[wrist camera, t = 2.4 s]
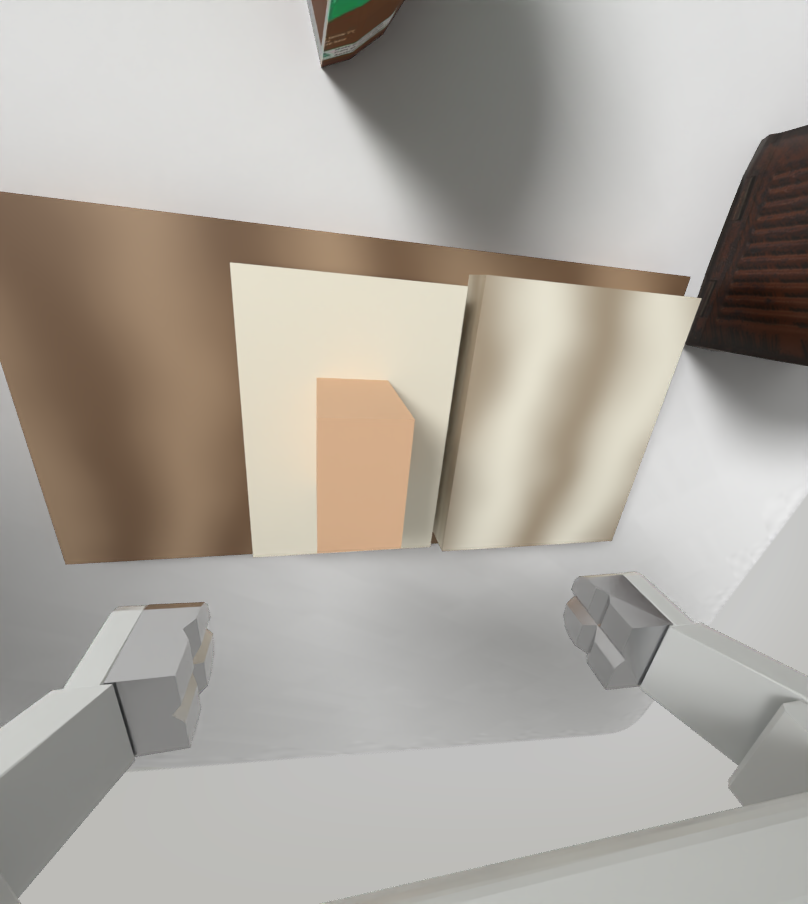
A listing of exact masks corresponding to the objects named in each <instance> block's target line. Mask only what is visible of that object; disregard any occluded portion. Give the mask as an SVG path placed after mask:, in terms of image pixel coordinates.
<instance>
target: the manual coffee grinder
mask: <svg viewBox="0 0 808 904" xmlns="http://www.w3.org/2000/svg"><path fill="white" fill-rule="evenodd" d="M698 298H702V299H701V301H700V304H699V307H698V309H697V312H696V315H695V318H694V320H693V323H692V326H691V328H690V331H689V334H688V336H687V339H686V342H685V344H686V345H690V346H694V347H698V348H702V349H707V350H711V351H722V352H732V353H737V354H743V355H748V356H753V357H759V358H764V359H770V360H775V361H781V362H787V363H792V364H798V365H804V366H808V125H806V126H803V127H799V128H796V129H792V130H789V131H785V132H782V133H777V134H770V135H769V136H767V137H766V138H764V139H763V140H762V141H761V143H760V145H759V147H758V148H757V150H756V152H755V154H754V156H753V158H752V160H751V162H750V164H749V166H748V168H747V170H746V171H745V173H744V175H743V178H742V180H741V183H740V185H739V188H738V190H737V193H736V195H735V198H734V200H733V203H732V206H731V208H730V211H729V213H728V216H727V218H726V221H725V224H724V226H723V229H722V232H721V234H720V237H719V239H718V242H717V245H716V247H715V250H714V252H713V255H712V258H711V260H710V263H709V266H708V268H707V271H706V274H705V277H704V280H703V283H702V286H701V289H700V292H699V295H698Z"/></svg>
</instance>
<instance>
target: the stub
mask: <svg viewBox="0 0 808 904" xmlns="http://www.w3.org/2000/svg"><path fill="white" fill-rule="evenodd" d="M230 272H231V284H232V297H233V309H234V322H235V335H236V347H237V360H238V372H239V385H240V398H241V410H242V423H243V436H244V448H245V461H246V473H247V486H248V499H249V511H250V524H251V536H252V549H253V557H270V556H287V555H304V554H321V553H338V552H355V551H372V550H389V549H406V548H423V547H430V545H431V538H432V532H433V525H434V518H435V511H436V504H437V497H438V490H439V483H440V476H441V470H442V463H443V456H444V449H445V442H446V435H447V428H448V421H449V414H450V408H451V401H452V394H453V387H454V380H455V373H456V366H457V359H458V352H459V345H460V339H461V332H462V325H463V318H464V311H465V304H466V297H467V290H468V286H460V285H450V284H440V283H430V282H420V281H410V280H400V279H390V278H381V277H371V276H361V275H351V274H341V273H331V272H321V271H311V270H301V269H291V268H281V267H271V266H261V265H252V264H242V263H232V262H230Z"/></svg>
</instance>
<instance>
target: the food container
mask: <svg viewBox="0 0 808 904" xmlns="http://www.w3.org/2000/svg"><path fill="white" fill-rule="evenodd" d="M403 2H404V0H307V4H308V9H309V13H310V18H311V22H312V27H313V32H314V36H315V41H316V45H317V50H318V55H319V59H320V64H321V67H325V66H328V65H332V64H335V63H339V62H342V61H346V60H349V59H351V58H352V57H353V56H355V55H356V54H357V53H359V52H360V51H361V50H363V49H364V48H365V47H367V46H368V45H369V44H371V43H372V42H373V41H375V40H376V39H377V38H379V37H380V36H381V35H383V33H384V32H385V30H386V28H387V27H388V25H389V24H390V22H391V21H392V19H393V18H394V16H395V14H396V13H397V11H398V10H399V8H400V7H401V5H402V4H403Z"/></svg>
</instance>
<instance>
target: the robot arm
mask: <svg viewBox="0 0 808 904" xmlns="http://www.w3.org/2000/svg"><path fill="white" fill-rule="evenodd" d="M571 590H572V592H573V594H574V597H573V598H572V599H571V600H570V601H569V602H568V603H567V604H566V607H565V611H564V623H565V628H566V631H567V633H568V635H569V637H570V639H571V640H572V642H573V643H574V645H575V646H577V647H578V648H580V649H581V650H583V651H584V652H586V653H587V664H588V665H589V667H590V668H591V669H592V671H593V672H594V674H595V675H596V677H597V678H598V680H599V681H600V682H601V684H602V685H603V687H604V688H605V690H608V689H618V688H627V687H637V686H640V689H641V690H642V691H643V692H645V693H646V694H647V695H649V696H650V697H651V698H652V699H654V700H655V701H656V702H658V703H659V704H660V705H661V706H663V707H664V708H665V709H667V710H668V711H669V712H670V713H672V714H673V715H674V716H676V717H677V718H678V719H679V720H681V721H682V722H683V723H684V724H686V725H687V726H688V727H690V728H691V729H692V730H694V731H695V732H696V733H697V734H699V735H700V736H701V737H702V738H704V739H705V740H706V741H708V742H709V743H710V744H711V745H713V746H714V747H715V748H717V749H718V750H719V751H720V752H722V753H723V754H724V755H726V756H727V757H728V758H729V759H731V760H732V761H733V762H734V763H736V764H737V765H738V767H737V769H736V770H735V771H734V773H733V774H732V775H731V777H730V778H729V780H728V783H729V784H728V786H729V789H730V790H731V792H732V793H733V794H734V796H735V797H736V798H737V799H738V801H739V802H740V803H741V804H742V806H743V807H738V808H734V809H730V810H725V811H721V812H717V813H712V814H708V815H704V816H699V817H695V818H690V819H686V820H682V821H678V822H673V823H669V824H664V825H660V826H656V827H652V828H647V829H643V830H639V831H634V832H630V833H626V834H621V835H617V836H612V837H608V838H603V839H599V840H595V841H590V842H586V843H582V844H578V845H573V846H569V847H564V848H560V849H556V850H551V851H547V852H543V853H538V854H534V855H530V856H525V857H521V858H516V859H512V860H508V861H504V862H499V863H495V864H490V865H486V866H482V867H477V868H473V869H469V870H464V871H460V872H456V873H451V874H447V875H443V876H438V877H434V878H429V879H425V880H421V881H416V882H413V883H408V884H403V885H399V886H395V887H391V888H386V889H382V890H377V891H374V892H369V893H364V894H360V895H356V896H351V897H347V898H343V899H338V900H334V901H330V902H325V903H321V904H808V676H807V675H805V674H803V673H801V672H799V671H797V670H795V669H793V668H791V667H789V666H787V665H785V664H783V663H781V662H779V661H777V660H775V659H773V658H771V657H769V656H767V655H765V654H763V653H761V652H759V651H757V650H755V649H753V648H751V647H749V646H747V645H745V644H743V643H741V642H738V641H737V640H735V639H733V638H731V637H729V636H727V635H725V634H722V633H721V632H718V631H716V630H714V629H712V628H710V627H708V626H706V625H704V624H702V623H694V622H693V621H692V620H691V619H690V618H689V617H688V616H687V615H686V614H685V613H684V612H683V611H681V610H680V609H679V608H678V607H677V606H676V605H675V604H674V603H673V602H672V601H671V600H669V599H668V598H667V597H666V596H665V595H664V594H663V593H662V592H661V591H660V590H659V589H658V588H656V587H655V586H654V585H653V584H652V583H651V582H650V581H649V580H648V579H647V578H646V577H645V576H643V575H642V574H639V573H637V572H625V573H616V574H602V575H590V576H579V577H578V578H577V579H576V580H575V581H574V583H573V586H572V589H571ZM209 619H210V612H209V607H208V604H207V603H205V602H196V603H174V604H152V605H146V606H120V607H118V608H117V609H115V610H114V611H113V612H112V613H111V614H110V615H109V617H108V618H107V620H106V621H105V623H104V625H103V626H102V628H101V629H100V631H99V633H98V634H97V636H96V637H95V639H94V640H93V642H92V644H91V645H90V647H89V648H88V650H87V652H86V653H85V655H84V656H83V658H82V659H81V661H80V663H79V664H78V666H77V667H76V669H75V671H74V672H73V674H72V675H71V677H70V678H69V680H68V682H67V683H66V685H65V686H64V688H63V689H58V690H52V691H50V692H49V693H48V694H46V695H45V696H44V697H42V698H41V699H39V700H38V701H37V702H35V703H34V704H33V705H31V706H30V707H29V708H27V709H26V710H24V711H23V712H22V713H20V714H19V715H18V716H16V717H15V718H13V719H12V720H11V721H9V722H8V723H7V724H5V725H4V726H2V727H1V728H0V904H21V903H20V901H19V900H18V898H19V897H20V895H21V894H22V893H23V892H24V891H25V890H26V888H27V887H28V886H29V885H30V884H31V882H32V881H33V880H34V879H35V878H36V876H37V875H38V874H39V873H40V872H41V871H42V869H43V868H44V867H45V866H46V865H47V863H48V862H49V861H50V860H51V859H52V858H53V856H54V855H55V854H56V853H57V852H58V851H59V849H60V848H61V847H62V846H63V845H64V843H65V842H66V841H67V840H68V839H69V838H70V836H71V835H72V834H73V833H74V832H75V831H76V829H77V828H78V827H79V826H80V825H81V824H82V822H83V821H84V820H85V819H86V818H87V816H88V815H89V814H90V813H91V812H92V811H93V809H94V808H95V807H96V806H97V805H98V803H99V802H100V801H101V800H102V799H103V798H104V796H105V795H106V794H107V793H108V792H109V791H110V789H111V788H112V787H113V786H114V784H115V783H116V782H117V781H118V780H119V779H120V777H121V776H122V775H123V774H124V773H125V772H126V770H127V769H128V768H129V767H130V766H131V765H132V763H133V762H134V761H135V757H137V756H143V755H149V754H155V753H161V752H167V751H173V750H179V749H185V748H190V746H191V743H192V739H193V736H194V732H195V729H196V725H197V722H198V718H199V715H200V711H201V705H200V699H199V694H200V693H201V692H202V691H203V690H204V689H205V688H206V687H207V686H208V683H209V679H210V675H211V671H212V664H213V657H214V640H213V633H211V632H210V631H209V630H208V629H207V625H208V622H209Z"/></svg>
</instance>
